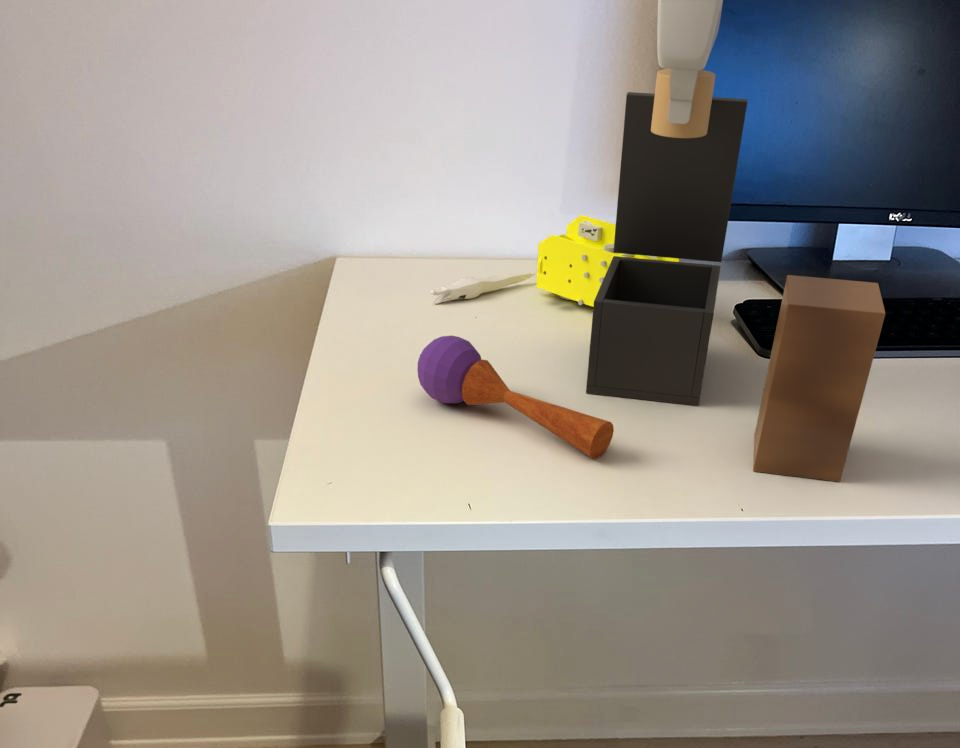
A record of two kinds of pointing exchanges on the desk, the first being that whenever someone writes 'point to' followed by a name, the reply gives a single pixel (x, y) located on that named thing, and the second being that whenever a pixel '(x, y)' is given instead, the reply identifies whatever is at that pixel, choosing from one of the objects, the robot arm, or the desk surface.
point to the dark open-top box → (652, 330)
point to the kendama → (502, 394)
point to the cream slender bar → (476, 286)
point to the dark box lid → (677, 183)
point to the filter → (698, 113)
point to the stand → (817, 376)
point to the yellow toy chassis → (579, 259)
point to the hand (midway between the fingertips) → (681, 115)
